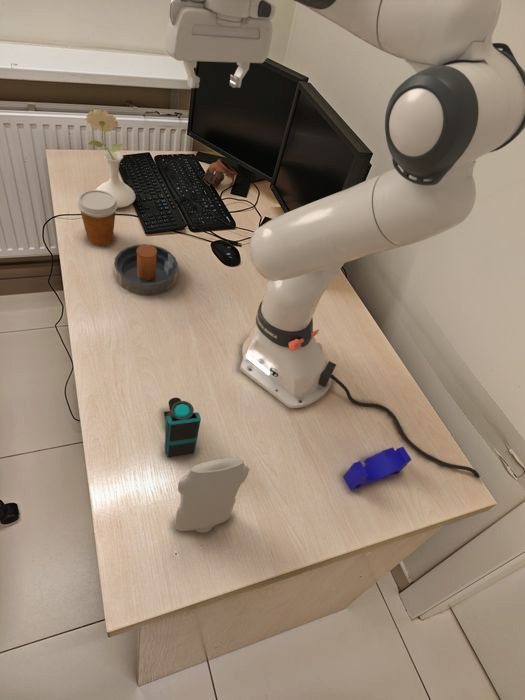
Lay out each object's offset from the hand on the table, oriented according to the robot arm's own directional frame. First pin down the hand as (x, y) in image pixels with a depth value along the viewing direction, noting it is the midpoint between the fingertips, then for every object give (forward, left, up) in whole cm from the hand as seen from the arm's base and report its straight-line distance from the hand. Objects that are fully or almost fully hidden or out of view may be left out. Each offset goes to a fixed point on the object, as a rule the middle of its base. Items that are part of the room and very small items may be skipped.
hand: (214, 86), depth 87 cm
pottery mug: (+33, -33, -47) cm, 66 cm away
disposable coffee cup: (+23, +14, -47) cm, 54 cm away
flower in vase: (+38, +2, -47) cm, 60 cm away
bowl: (+5, +11, -47) cm, 48 cm away
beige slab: (-54, +36, -47) cm, 80 cm away
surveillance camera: (-37, +30, -47) cm, 66 cm away
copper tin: (+5, +11, -46) cm, 48 cm away
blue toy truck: (-66, +3, -47) cm, 81 cm away
